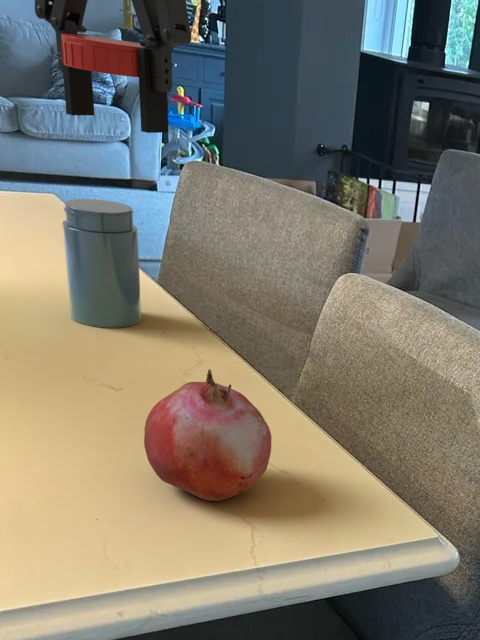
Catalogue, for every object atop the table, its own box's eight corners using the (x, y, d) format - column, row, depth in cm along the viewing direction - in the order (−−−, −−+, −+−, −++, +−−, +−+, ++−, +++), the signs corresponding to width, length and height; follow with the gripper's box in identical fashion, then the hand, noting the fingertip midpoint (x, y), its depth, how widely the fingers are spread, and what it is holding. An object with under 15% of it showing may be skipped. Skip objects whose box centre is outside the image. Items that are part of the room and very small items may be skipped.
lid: (113, 66, 84) (112, 38, 83) (183, 80, 81) (182, 51, 80) (41, 61, 78) (38, 30, 76) (114, 76, 75) (112, 44, 74)
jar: (61, 322, 98) (50, 206, 91) (82, 304, 104) (73, 194, 98) (131, 331, 98) (125, 217, 92) (148, 312, 105) (144, 204, 98)
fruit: (158, 458, 73) (153, 338, 68) (274, 469, 74) (278, 352, 69) (132, 508, 65) (125, 378, 60) (263, 520, 67) (266, 393, 61)
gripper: (-39, -221, 70) (0, 103, 82) (170, -205, 63) (178, 145, 75) (38, -195, 76) (64, 104, 88) (236, -178, 69) (234, 143, 81)
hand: (117, 122), depth 82 cm, fingers closed on lid, 8 cm apart
